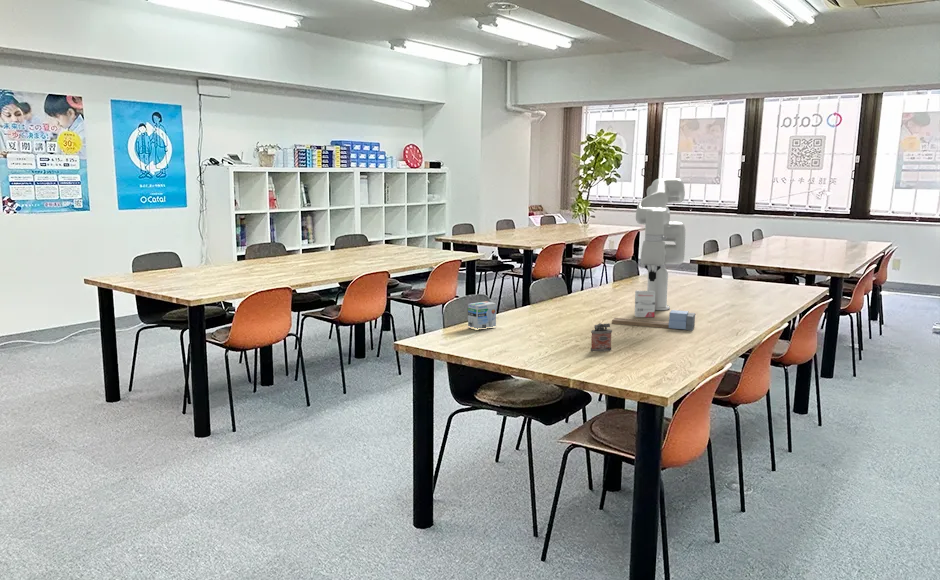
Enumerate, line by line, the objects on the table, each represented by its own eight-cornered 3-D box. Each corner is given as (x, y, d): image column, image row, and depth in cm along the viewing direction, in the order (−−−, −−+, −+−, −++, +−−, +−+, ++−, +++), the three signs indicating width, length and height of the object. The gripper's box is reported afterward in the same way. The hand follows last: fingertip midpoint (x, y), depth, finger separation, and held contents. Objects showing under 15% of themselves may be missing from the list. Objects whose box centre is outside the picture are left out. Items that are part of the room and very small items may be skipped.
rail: (615, 320, 315) (615, 307, 314) (694, 327, 302) (695, 313, 301) (611, 323, 308) (611, 310, 307) (692, 330, 295) (693, 316, 294)
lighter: (593, 352, 257) (593, 325, 256) (589, 349, 260) (589, 323, 259) (613, 350, 259) (613, 324, 258) (608, 348, 263) (609, 322, 261)
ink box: (652, 315, 328) (653, 290, 326) (654, 317, 323) (655, 291, 321) (633, 315, 329) (634, 289, 327) (635, 317, 324) (636, 291, 322)
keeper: (671, 324, 306) (671, 309, 305) (688, 325, 303) (688, 310, 302) (668, 328, 298) (669, 312, 297) (685, 329, 296) (686, 314, 295)
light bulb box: (477, 331, 292) (477, 305, 290) (467, 328, 297) (467, 303, 295) (496, 328, 299) (497, 302, 297) (486, 325, 304) (486, 300, 302)
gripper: (673, 238, 300) (671, 280, 304) (637, 236, 306) (636, 278, 309) (670, 240, 293) (668, 283, 297) (634, 238, 299) (633, 281, 303)
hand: (652, 280), depth 303 cm, fingers closed
